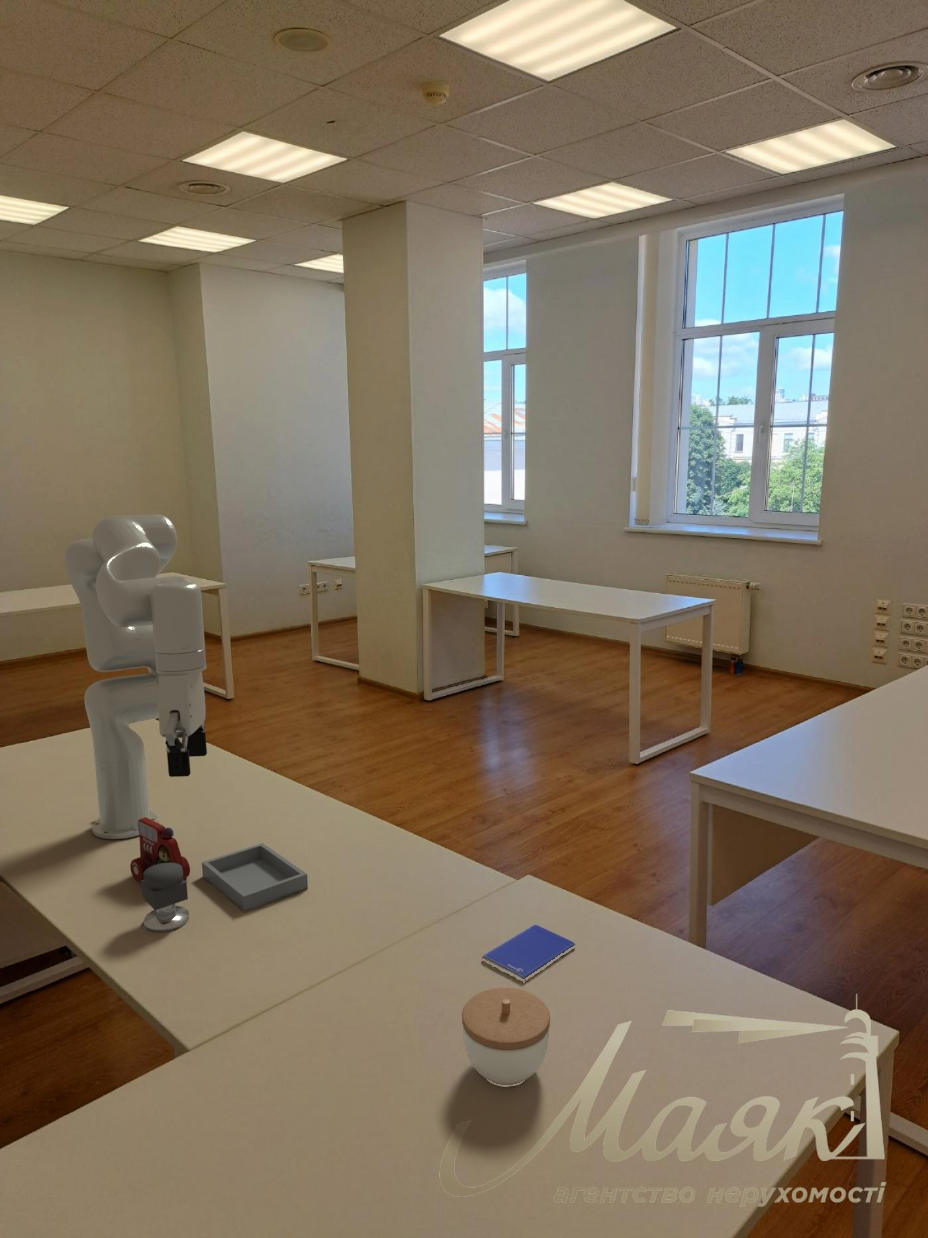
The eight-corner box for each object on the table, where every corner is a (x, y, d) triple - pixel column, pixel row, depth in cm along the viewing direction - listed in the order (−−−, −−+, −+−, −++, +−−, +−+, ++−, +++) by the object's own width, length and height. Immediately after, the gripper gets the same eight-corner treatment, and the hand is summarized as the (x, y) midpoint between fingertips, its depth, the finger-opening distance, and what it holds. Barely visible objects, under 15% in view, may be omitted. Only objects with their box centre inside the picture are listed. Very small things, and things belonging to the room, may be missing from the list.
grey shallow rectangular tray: (202, 876, 155) (201, 862, 155) (263, 856, 163) (262, 843, 162) (244, 912, 143) (243, 896, 142) (307, 888, 151) (307, 874, 150)
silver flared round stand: (137, 920, 141) (135, 893, 140) (179, 905, 145) (177, 879, 144) (153, 937, 135) (151, 909, 134) (196, 922, 140) (194, 895, 139)
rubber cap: (140, 897, 140) (137, 870, 139) (175, 885, 144) (173, 859, 143) (153, 911, 135) (151, 883, 134) (190, 899, 139) (188, 872, 138)
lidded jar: (484, 1113, 98) (484, 1040, 97) (448, 1055, 108) (448, 988, 106) (565, 1086, 103) (566, 1015, 101) (524, 1032, 112) (524, 967, 111)
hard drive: (523, 976, 123) (575, 942, 131) (481, 954, 128) (534, 923, 137) (523, 986, 123) (575, 951, 132) (481, 964, 129) (534, 932, 137)
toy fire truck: (162, 897, 148) (158, 841, 146) (126, 875, 156) (121, 822, 154) (197, 882, 153) (194, 828, 151) (161, 862, 161) (157, 810, 159)
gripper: (173, 650, 142) (180, 749, 145) (138, 673, 125) (147, 785, 128) (218, 649, 142) (225, 748, 145) (189, 672, 125) (197, 783, 128)
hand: (188, 765), depth 137 cm, fingers open, 9 cm apart
